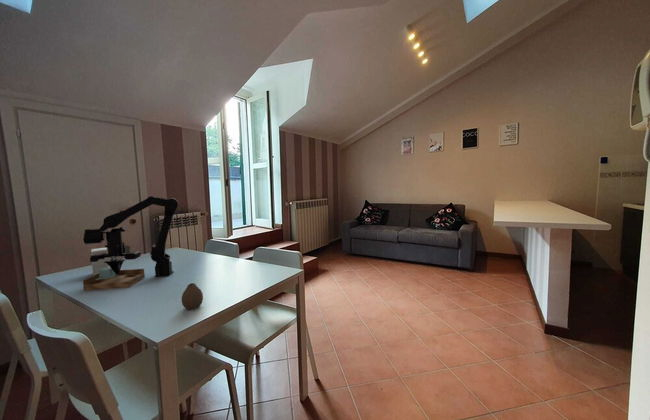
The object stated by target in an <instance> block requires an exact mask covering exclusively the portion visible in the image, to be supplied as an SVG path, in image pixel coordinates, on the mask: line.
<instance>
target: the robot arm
mask: <svg viewBox="0 0 650 420" xmlns="http://www.w3.org/2000/svg"><path fill="white" fill-rule="evenodd" d="M152 205H154V206H159V207H164V212H163V213H164V214H163V219H162V224H161V227H160V230H159V234H158V238H157V242H156V244H155V243H154V244H152V246H151V252H150V253H149V255H150V259H151V260H152V261H153V262H155V266H154V274H155V275H154V277H155V278H157V277H169V276H171V275H172V274H174V272H175V271H174V270H173V265H172V264H173V263H172V260H171V255H169V254H167V253H166V251H167V249H166V248H167V247H166V246H167V240H168V235H169V231H170V229H171V228H170V227H171V223H172V220H173V217H174V215H175V213H176V211H177V209H178V206H179V202H178V200H177V199H176V198H174V197H172V198H171V197H170V198H163V197H157V196H153V195H152V196H148V197H147V198H145V199H144V200H141V201H139V202H138V203H136V204H134V205H132V206H130V207H128V208H126V209H125V210H122V211H119V212H116V213H112V214H111V215H107V216H106V217H104V218H103V221H102V222H103V224H102V225H101V226H100V227H99V228H85V229H84V233H83V236H82V237H83V238H82V239H83V243H84V244H85V245H93V244H94V245H95V244H101V243H103V242H104V241H105V240H106V244H105V245H104V248H106V247H107V253H108V254H106V253H97V254H94V255H92V256H91V255H90V256H89V262H90V263H92V262H97V261H98V260H99V259H105V262H104V263H107V264H108V266H109V267H111V269H112V270H113V271H114V272H115V274H119V272H120V270H122V266H123V263H124V262H125V261H127V260H137V259H138V258H141V254H142V253H141V252H140V251H139V250H134V251H131V246H129V245H126V244H125V242H124V241H123V235H122V233H123V232H124V233H125V232H126V231H127V229H126V228H124V226H120V225H122V223H124V222H125V221H126V220H128V219H129V218H130V217H131V216H134V215H136V214H137V213H139V212H141V211H143V210H145V209H147V208H148V207H150V206H152ZM119 226H120V227H119ZM117 227H118V228H117ZM109 229H111V230H109ZM170 260H171V261H170Z"/></svg>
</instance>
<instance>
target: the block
mask: <svg viewBox="0 0 650 420" xmlns="http://www.w3.org/2000/svg"><path fill="white" fill-rule="evenodd" d="M116 275H117V274H115V272H114V271H113V270H112V269H111V267H110V266H109V267H107V268H103V269H101V270H99V276H100V279H107V278H112V277H114V276H116Z"/></svg>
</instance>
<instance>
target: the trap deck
mask: <svg viewBox="0 0 650 420" xmlns="http://www.w3.org/2000/svg"><path fill="white" fill-rule="evenodd" d="M145 275H146V273H145V268H133V269H130V268H129V269H120V272H119V274H117V275H116V276H114V277H112V278H107V279H100V276H99V273H98V274H96V275H94V276H93V275H91V276H89V277H87V278H85V279H83V280H82V284H83V291H94V290H95V291H97V290H98V291H99V290H109V289H124V288H131V287H132V286H134V285H136V284H138V283H139V282H140V281H142V280H143V279H145V277H146V276H145Z"/></svg>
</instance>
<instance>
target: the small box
mask: <svg viewBox="0 0 650 420" xmlns="http://www.w3.org/2000/svg"><path fill="white" fill-rule="evenodd" d="M97 253H106V254H108V251H107V247H106V248H105V247H100V248H91V251H90V257H91V256H92V255H94V254H97ZM104 262H105V259H99V260H98V261H97V262H91V266H92V267H91V269H92V276H94V275H96V274H98V273H99V270H101V269H103V268H107V267H110V266H109V265H108V264H107V263H104Z"/></svg>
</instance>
